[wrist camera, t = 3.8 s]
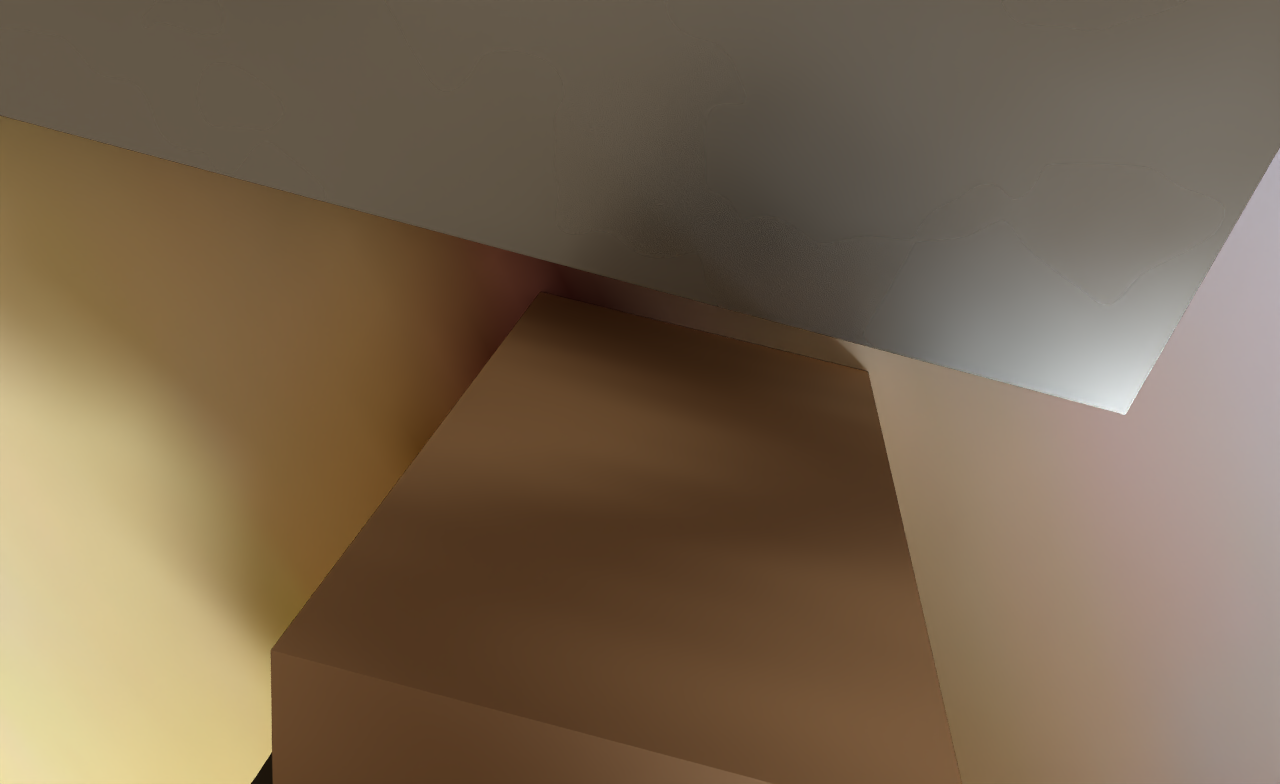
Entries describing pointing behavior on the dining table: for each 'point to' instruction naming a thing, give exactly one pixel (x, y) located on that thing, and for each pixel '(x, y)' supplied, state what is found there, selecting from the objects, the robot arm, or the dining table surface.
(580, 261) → the housing base
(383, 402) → the dining table surface
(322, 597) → the block
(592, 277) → the dining table surface
